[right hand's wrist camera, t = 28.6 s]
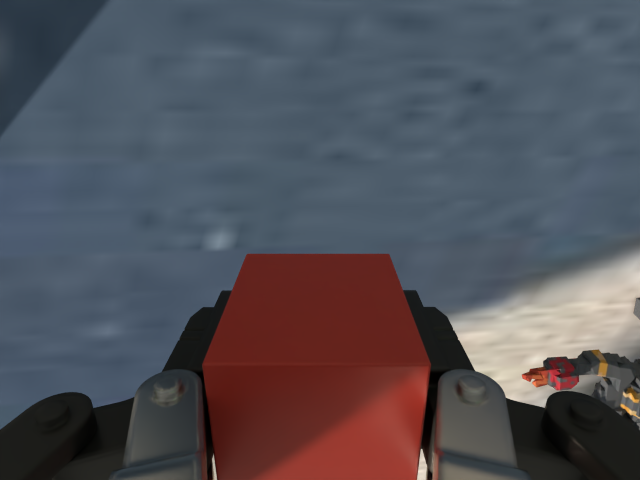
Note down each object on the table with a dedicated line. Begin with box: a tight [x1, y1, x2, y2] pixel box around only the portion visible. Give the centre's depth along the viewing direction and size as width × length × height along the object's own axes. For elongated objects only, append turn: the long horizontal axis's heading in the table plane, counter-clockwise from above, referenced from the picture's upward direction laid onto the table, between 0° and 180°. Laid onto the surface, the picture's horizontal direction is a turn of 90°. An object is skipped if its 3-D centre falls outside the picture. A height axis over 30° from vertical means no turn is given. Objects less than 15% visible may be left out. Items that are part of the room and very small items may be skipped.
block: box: [202, 254, 431, 480], centre depth 10 cm, size 4×4×5 cm
